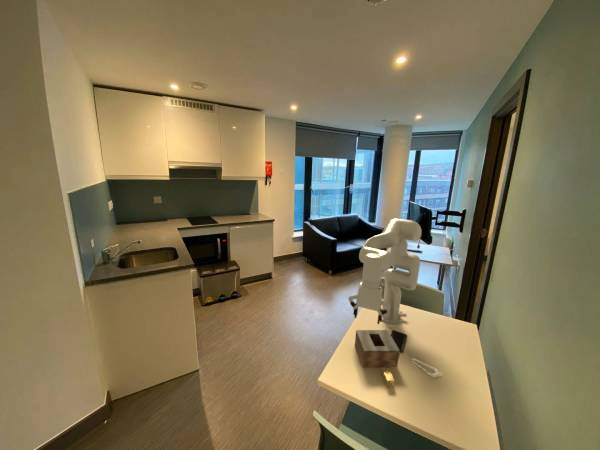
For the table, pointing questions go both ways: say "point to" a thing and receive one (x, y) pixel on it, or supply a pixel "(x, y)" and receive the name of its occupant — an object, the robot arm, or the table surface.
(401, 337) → the phone
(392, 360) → the box
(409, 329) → the table surface
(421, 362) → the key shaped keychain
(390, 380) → the wooden block
